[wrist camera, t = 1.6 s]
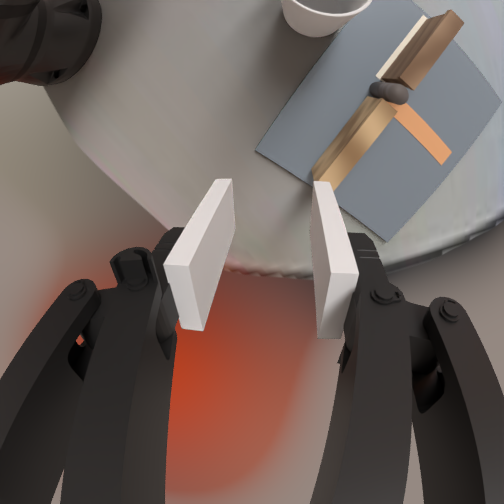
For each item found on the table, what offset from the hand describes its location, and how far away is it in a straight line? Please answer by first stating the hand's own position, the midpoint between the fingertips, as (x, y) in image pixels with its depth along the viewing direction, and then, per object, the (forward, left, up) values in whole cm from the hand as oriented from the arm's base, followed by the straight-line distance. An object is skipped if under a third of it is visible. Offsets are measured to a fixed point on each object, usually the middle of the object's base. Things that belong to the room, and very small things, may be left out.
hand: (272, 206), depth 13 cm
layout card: (+9, +10, -20) cm, 24 cm away
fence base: (+6, +16, -19) cm, 26 cm away
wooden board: (+6, +4, -19) cm, 20 cm away
